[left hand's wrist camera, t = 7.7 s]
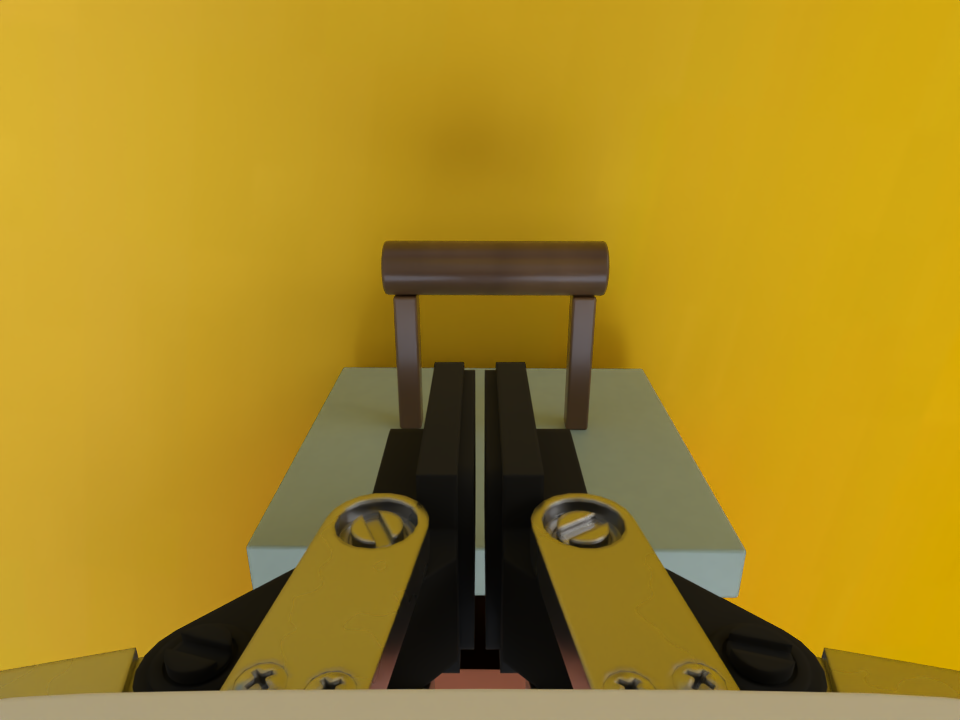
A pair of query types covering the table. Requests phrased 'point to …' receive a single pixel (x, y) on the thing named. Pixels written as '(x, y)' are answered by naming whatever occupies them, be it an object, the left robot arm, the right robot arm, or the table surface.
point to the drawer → (556, 405)
